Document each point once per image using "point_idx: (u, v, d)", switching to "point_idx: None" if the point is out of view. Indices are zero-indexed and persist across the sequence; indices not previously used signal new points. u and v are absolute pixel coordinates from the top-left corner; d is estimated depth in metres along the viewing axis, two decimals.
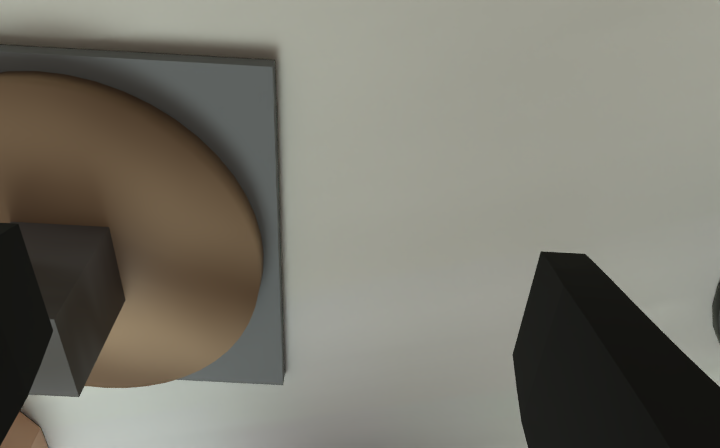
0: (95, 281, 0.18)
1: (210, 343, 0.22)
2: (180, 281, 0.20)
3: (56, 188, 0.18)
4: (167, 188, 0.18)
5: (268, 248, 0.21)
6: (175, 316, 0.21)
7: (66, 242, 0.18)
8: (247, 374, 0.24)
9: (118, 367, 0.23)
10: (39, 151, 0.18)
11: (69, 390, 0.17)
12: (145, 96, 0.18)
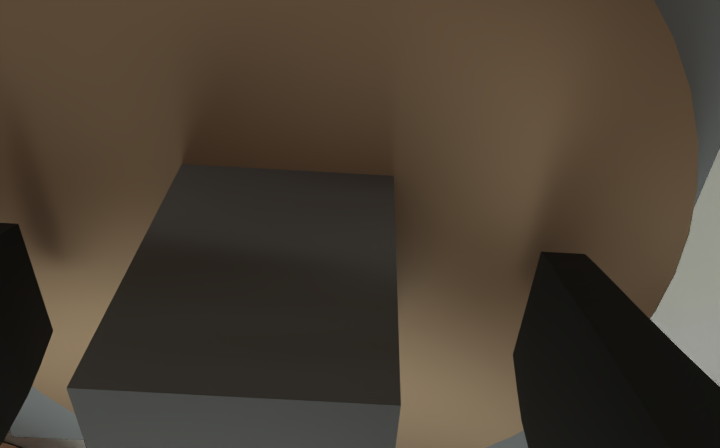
0: None
1: (515, 407, 0.12)
2: (504, 292, 0.10)
3: (302, 84, 0.08)
4: (557, 83, 0.08)
5: None
6: (467, 358, 0.11)
7: (322, 206, 0.08)
8: None
9: None
10: None
11: None
12: None
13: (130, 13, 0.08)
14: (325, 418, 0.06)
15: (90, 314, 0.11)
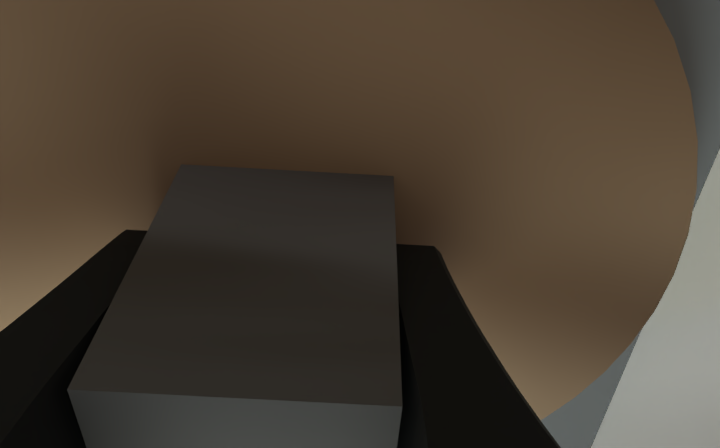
0: None
1: None
2: (503, 292, 0.10)
3: (302, 84, 0.08)
4: (557, 83, 0.08)
5: None
6: None
7: (322, 206, 0.08)
8: None
9: None
10: None
11: None
12: None
13: (129, 13, 0.08)
14: (326, 419, 0.06)
15: None
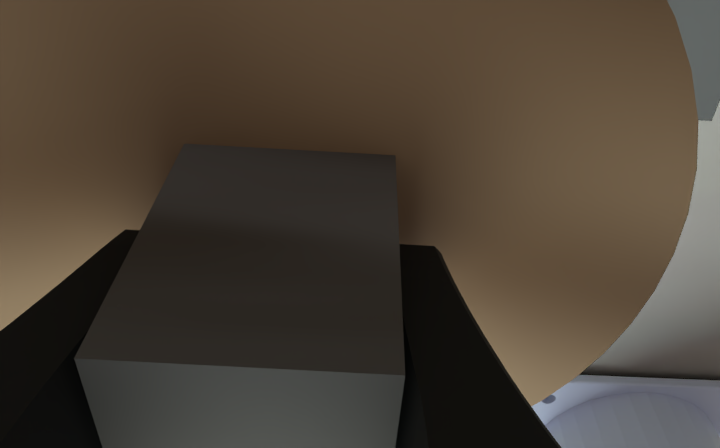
0: None
1: None
2: (504, 272, 0.10)
3: (305, 62, 0.08)
4: (558, 61, 0.08)
5: None
6: None
7: (324, 184, 0.08)
8: None
9: None
10: None
11: None
12: None
13: None
14: (330, 388, 0.06)
15: None
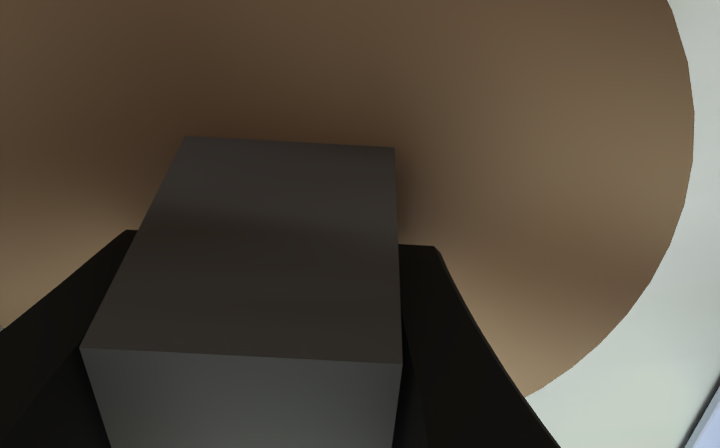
0: None
1: (512, 376, 0.12)
2: (502, 263, 0.10)
3: (305, 56, 0.08)
4: (556, 54, 0.08)
5: None
6: None
7: (324, 176, 0.08)
8: None
9: None
10: None
11: None
12: None
13: None
14: (329, 376, 0.06)
15: None
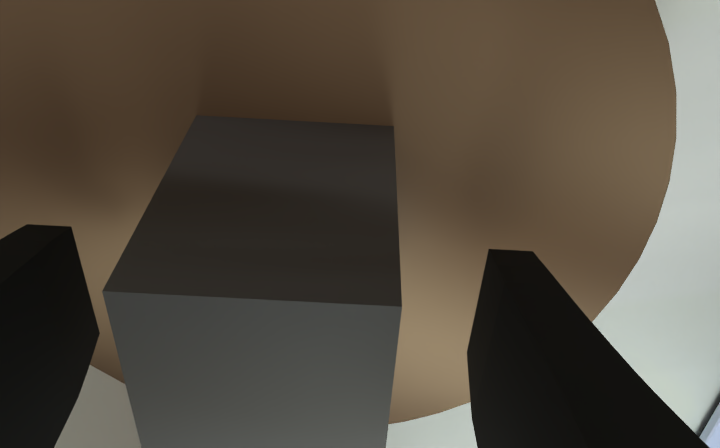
0: None
1: None
2: (497, 240, 0.11)
3: (309, 36, 0.09)
4: (545, 35, 0.09)
5: None
6: (463, 307, 0.12)
7: (328, 150, 0.09)
8: None
9: None
10: None
11: None
12: None
13: None
14: (333, 319, 0.06)
15: (107, 264, 0.11)
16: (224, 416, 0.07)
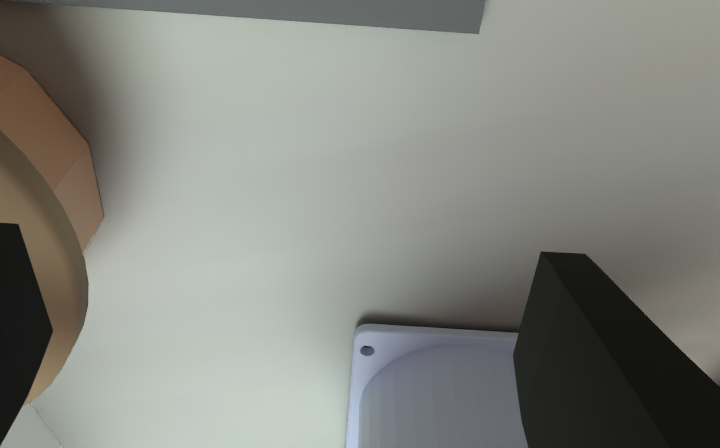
0: None
1: None
2: None
3: None
4: None
5: None
6: None
7: None
8: (427, 9, 0.15)
9: None
10: None
11: None
12: None
13: None
14: None
15: None
16: None
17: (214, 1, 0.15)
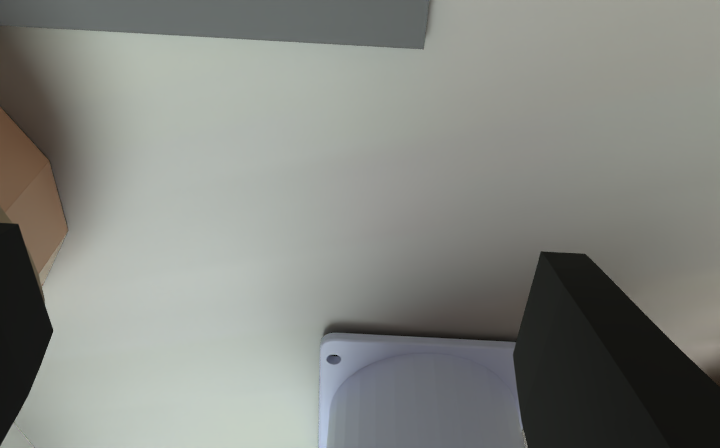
0: None
1: None
2: None
3: None
4: None
5: None
6: None
7: None
8: (371, 26, 0.16)
9: None
10: None
11: None
12: None
13: None
14: None
15: None
16: None
17: (162, 21, 0.16)
